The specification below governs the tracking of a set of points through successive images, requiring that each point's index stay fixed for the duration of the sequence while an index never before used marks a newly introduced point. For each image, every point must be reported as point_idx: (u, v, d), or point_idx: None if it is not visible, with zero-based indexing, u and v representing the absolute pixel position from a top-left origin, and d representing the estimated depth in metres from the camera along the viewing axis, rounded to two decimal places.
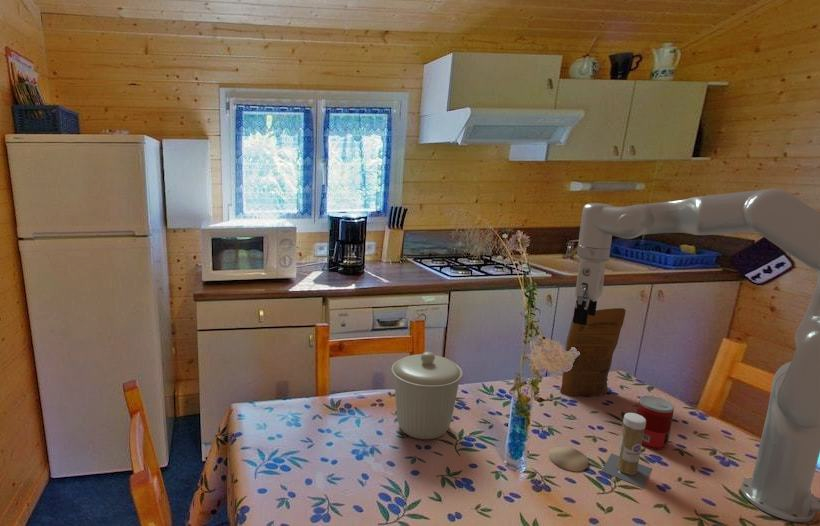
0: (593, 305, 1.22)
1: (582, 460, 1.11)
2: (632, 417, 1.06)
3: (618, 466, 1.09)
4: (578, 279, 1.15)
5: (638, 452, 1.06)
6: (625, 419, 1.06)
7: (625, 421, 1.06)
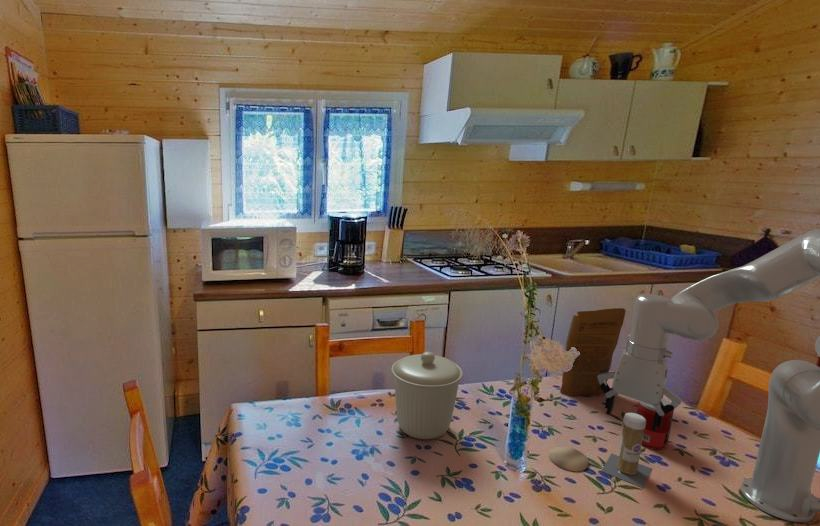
0: None
1: (582, 460, 1.11)
2: (632, 417, 1.06)
3: (618, 466, 1.09)
4: (662, 385, 1.00)
5: (638, 452, 1.06)
6: (625, 419, 1.06)
7: (625, 421, 1.06)
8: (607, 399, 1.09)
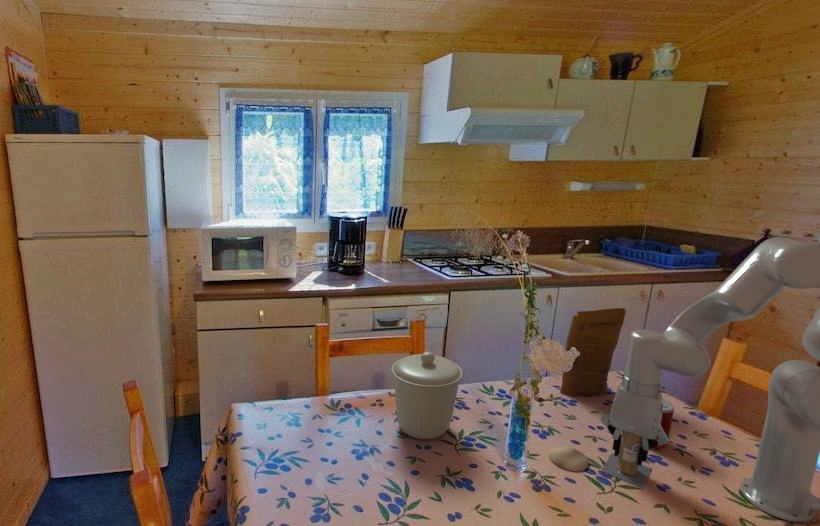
0: None
1: (582, 460, 1.11)
2: None
3: (618, 466, 1.09)
4: (658, 420, 1.02)
5: (638, 452, 1.06)
6: None
7: None
8: (615, 441, 1.09)
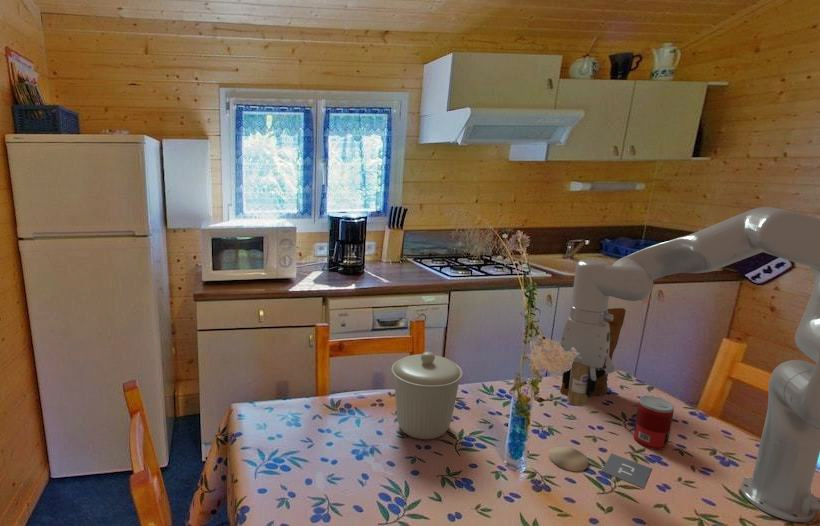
0: None
1: (582, 460, 1.11)
2: None
3: (568, 399, 1.09)
4: (604, 348, 1.02)
5: (586, 383, 1.06)
6: None
7: None
8: (564, 373, 1.09)
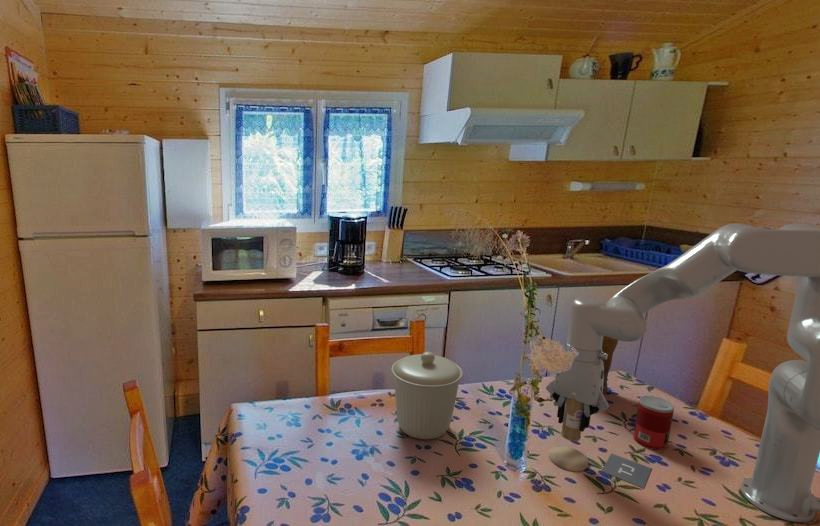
0: None
1: (582, 460, 1.11)
2: None
3: (562, 433, 1.10)
4: (598, 386, 1.04)
5: (580, 418, 1.08)
6: None
7: None
8: (559, 408, 1.11)
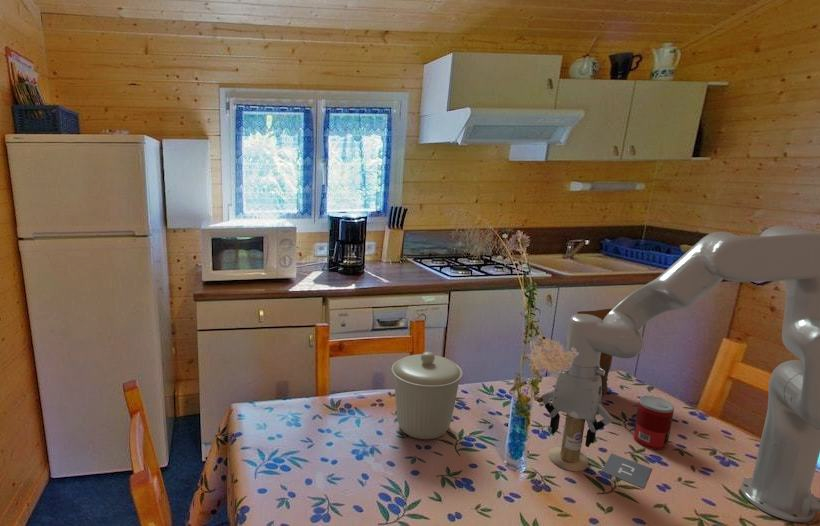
0: (558, 419, 1.13)
1: (582, 460, 1.11)
2: None
3: (561, 454, 1.11)
4: (596, 402, 1.04)
5: (579, 440, 1.09)
6: None
7: None
8: (552, 419, 1.12)
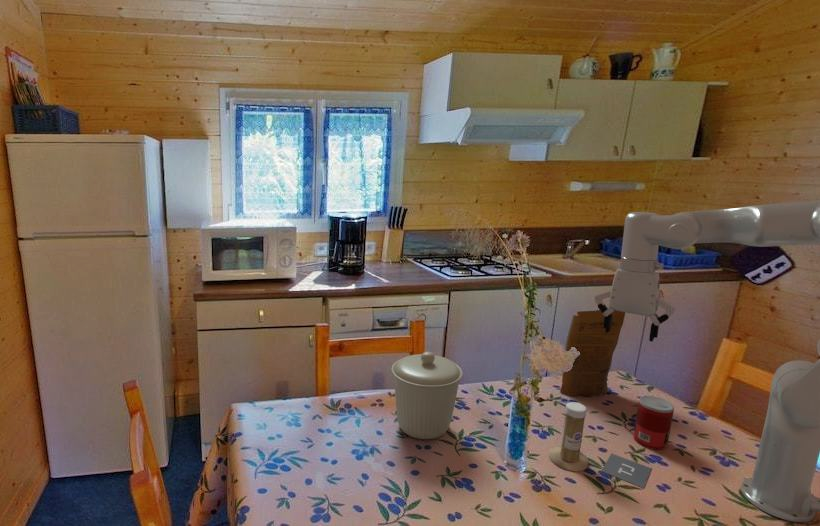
0: (611, 319, 1.15)
1: (582, 460, 1.11)
2: (573, 406, 1.09)
3: (561, 454, 1.11)
4: (656, 295, 1.06)
5: (579, 440, 1.09)
6: (566, 408, 1.09)
7: (566, 410, 1.09)
8: (605, 318, 1.14)
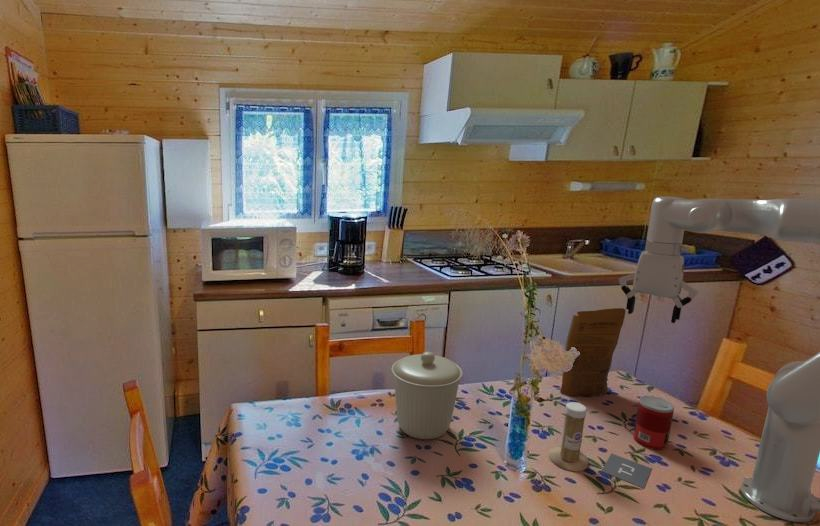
0: (634, 301, 1.18)
1: (582, 460, 1.11)
2: (573, 406, 1.09)
3: (561, 454, 1.11)
4: (680, 278, 1.09)
5: (579, 440, 1.09)
6: (566, 408, 1.09)
7: (566, 410, 1.09)
8: (628, 300, 1.17)
